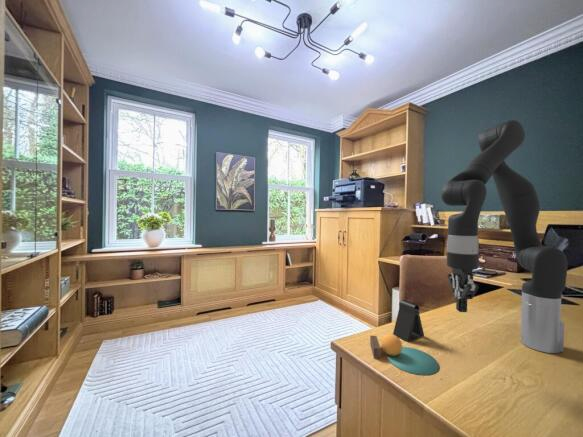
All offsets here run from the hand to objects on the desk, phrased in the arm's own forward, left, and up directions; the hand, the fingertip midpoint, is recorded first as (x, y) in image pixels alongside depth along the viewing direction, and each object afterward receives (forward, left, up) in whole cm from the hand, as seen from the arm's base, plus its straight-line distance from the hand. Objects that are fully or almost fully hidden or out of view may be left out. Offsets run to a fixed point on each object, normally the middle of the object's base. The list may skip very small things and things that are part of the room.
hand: (461, 311), depth 72 cm
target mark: (+13, 0, -16) cm, 20 cm away
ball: (+18, -2, -13) cm, 22 cm away
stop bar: (+23, -3, -16) cm, 28 cm away
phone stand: (+10, -16, -16) cm, 25 cm away
